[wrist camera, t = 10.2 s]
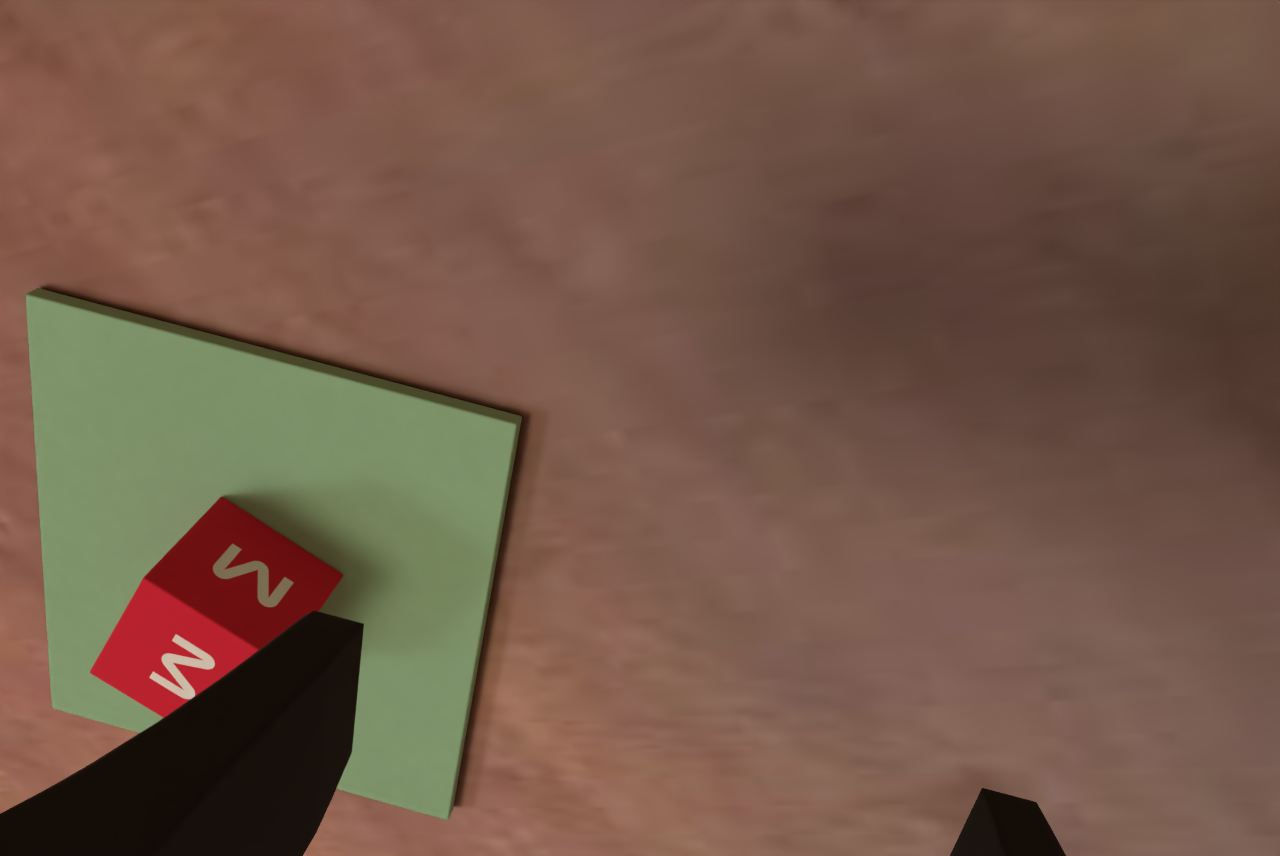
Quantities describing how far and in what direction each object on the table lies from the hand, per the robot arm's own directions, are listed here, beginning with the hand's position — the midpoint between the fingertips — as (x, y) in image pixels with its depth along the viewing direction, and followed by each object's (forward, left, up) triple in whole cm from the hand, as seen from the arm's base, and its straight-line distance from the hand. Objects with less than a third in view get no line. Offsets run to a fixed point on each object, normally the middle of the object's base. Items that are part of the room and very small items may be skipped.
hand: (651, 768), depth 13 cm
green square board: (-7, +9, -9) cm, 15 cm away
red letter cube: (-7, +9, -9) cm, 14 cm away
